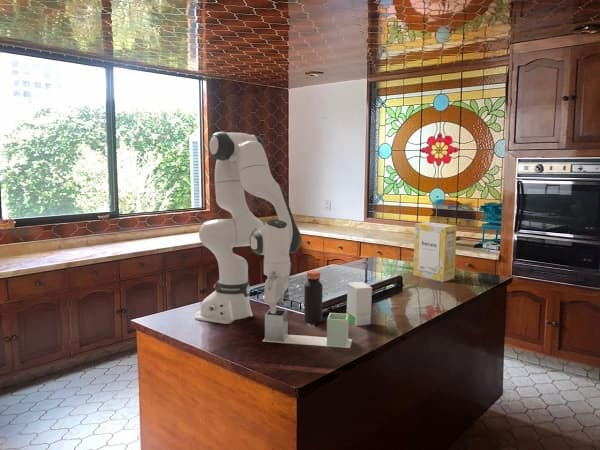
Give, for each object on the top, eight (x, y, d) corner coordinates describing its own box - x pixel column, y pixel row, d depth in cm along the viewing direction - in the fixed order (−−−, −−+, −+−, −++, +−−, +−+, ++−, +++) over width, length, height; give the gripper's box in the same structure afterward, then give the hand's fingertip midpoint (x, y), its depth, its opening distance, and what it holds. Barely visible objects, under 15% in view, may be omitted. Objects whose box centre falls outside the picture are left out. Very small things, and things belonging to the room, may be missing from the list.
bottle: (311, 319, 185) (311, 269, 182) (325, 323, 181) (326, 271, 178) (300, 323, 180) (300, 272, 177) (314, 327, 175) (315, 275, 173)
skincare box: (345, 322, 182) (346, 282, 179) (361, 320, 184) (361, 281, 182) (355, 329, 174) (356, 288, 172) (371, 327, 176) (372, 286, 174)
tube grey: (265, 340, 160) (264, 315, 159) (269, 333, 166) (269, 309, 165) (283, 342, 159) (283, 316, 157) (287, 335, 165) (287, 310, 164)
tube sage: (326, 345, 156) (327, 319, 155) (329, 338, 162) (329, 312, 161) (346, 346, 155) (346, 320, 153) (348, 339, 161) (348, 314, 160)
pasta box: (413, 275, 255) (415, 223, 251) (424, 272, 262) (426, 221, 258) (443, 281, 241) (445, 227, 237) (454, 278, 248) (456, 225, 244)
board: (262, 344, 160) (262, 341, 159) (268, 336, 167) (267, 333, 167) (350, 351, 154) (350, 347, 154) (352, 342, 161) (352, 339, 161)
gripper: (278, 277, 149) (278, 319, 151) (292, 262, 168) (292, 300, 171) (259, 276, 150) (259, 318, 152) (275, 261, 170) (275, 298, 172)
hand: (276, 308), depth 161 cm, fingers open, 8 cm apart
